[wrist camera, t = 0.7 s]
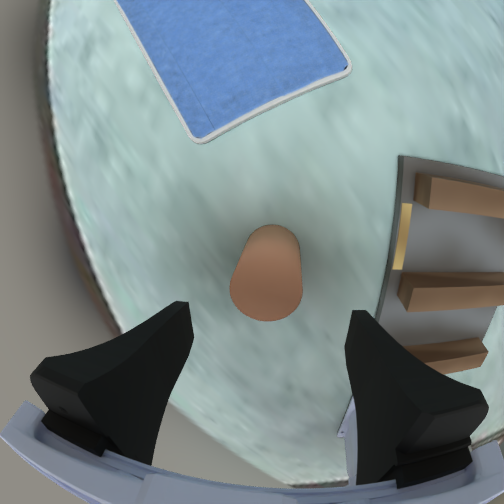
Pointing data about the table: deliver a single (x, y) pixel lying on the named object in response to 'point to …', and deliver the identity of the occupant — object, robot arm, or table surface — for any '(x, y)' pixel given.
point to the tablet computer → (233, 56)
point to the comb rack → (444, 263)
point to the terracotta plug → (268, 275)
